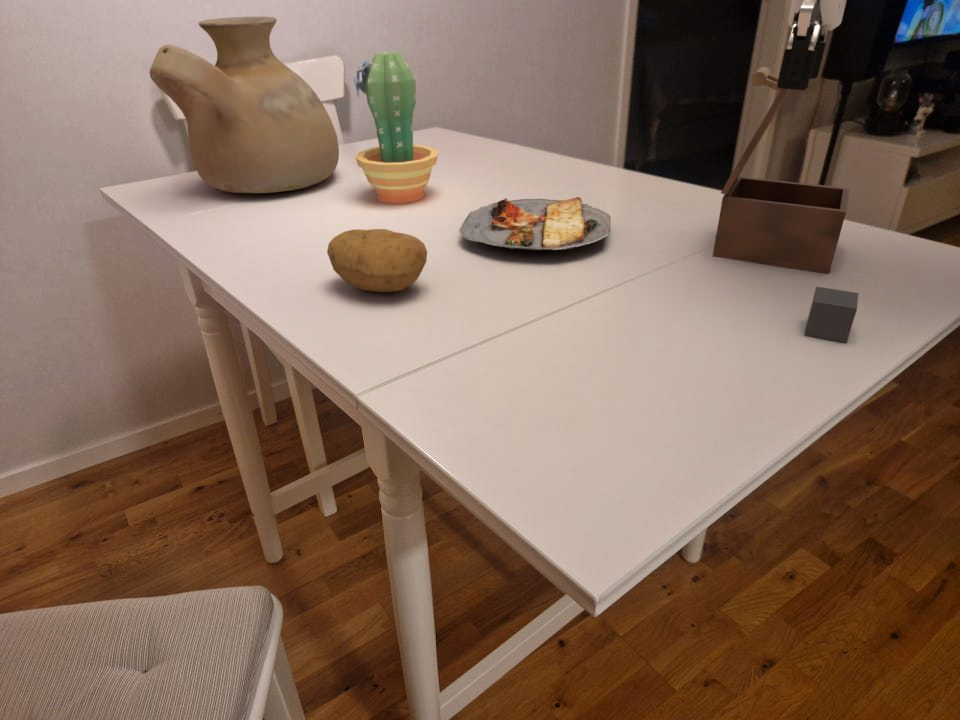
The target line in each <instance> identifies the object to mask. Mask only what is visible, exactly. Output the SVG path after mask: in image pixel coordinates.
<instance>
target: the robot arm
mask: <svg viewBox="0 0 960 720" xmlns="http://www.w3.org/2000/svg"><path fill="white" fill-rule="evenodd" d="M846 5H847V0H791V4H790V9H789V15H788V23H787V24H788V26H789V27H790V28H791V31H790V34H789V37H788V41H787V46H786V48H785V49H784V53H783V57H782V60H781V61H782V62H781V65H780V70H779V75H778V78H779V79H778V83H777V87H778V88H781V89H790V90H795V91H806V90H807V89H808V87H809V83H810V80H811V79H812V80H815V79H816V78H817V77H818V76H819V72H820V69H821V66H822V61H823V58H824V54H825V53H824V52H825V50H826V46H827V42H825V41H826V39H827V35H828V31H830V32H831V31H833V30H834V29H836V28H837V27H839V26H840V25H841V24H842V21H843V18H844V13H845V9H846Z"/></svg>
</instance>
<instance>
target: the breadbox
mask: <svg viewBox="0 0 960 720" xmlns="http://www.w3.org/2000/svg"><path fill="white" fill-rule="evenodd" d="M850 189H851V188H850V187H841V186H832V185H824V184H813V183H804V182H795V181H793V182H792V181H784V180H775V179H765V178H756V177H746V176H738V178H737V179H736V181H735V182H734V184H733V185H732V187H731V188H730V190H729V191H728V193H727V194H726V195H724V194H723V196H722V199H721V205H720V211H719V216H718V224H717V229H716V233H715V234H716V235H715V240H714V246H713V252H712V256H713V257H718V258H724V259H730V260H738V261H744V262H750V263H756V264H764V265H770V266H777V267H783V268H790V269H796V270H802V271H808V272H809V271H810V272H815V273H822V274H827V275H829V274H830V273H831V269H832V265H833V262H834V257H835V254H836V250H837V247H838V244H839V239H840V237H841V232H842V229H843V225H844V221H845V218H846V214H847V208H848V202H849V196H850Z"/></svg>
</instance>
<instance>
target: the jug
mask: <svg viewBox="0 0 960 720" xmlns="http://www.w3.org/2000/svg"><path fill="white" fill-rule="evenodd" d="M276 23H277V18H276V17H274V16H238V17H237V16H235V17H234V16H233V17H231V16H230V17H221V18H212V19H205V20H200V21H199V22H198V26H199V28H201V29H202V30H203V31H204V32H206V34H207V35H208V36H209V37H210V38H211V40H212V41H213V43H214V46H215V49H216V61H215V65H214V64H212V63H211V62H209V61H208V60H207V59H205V58H204V57H201V56H199V55H198V54H196V53H194V52H192V51H190V50H187V49H185V48H183V47H180V46H176V45H174V44H163V45H162V46H161V47H160V48H159V49H158V51H157V52H156V54H155V56H154V59H153V62H152V64H151V66H150V68H149V71H148V72H149V77H150V79H151V81H152V82H153V83H154V84H155V85H156V86H157V87H158V88H159V89H160V91H162V92H163V93H164V94H165V95H166V96H167V97H168V98H169V99H171V101H172V102H173V103H174V104H175V105H176V106H177V107H178V109H179V110H180V111H181V113H182V114H183V116H184V118H185V121H186V124H187V125H186V127H187V139H188V148H189V153H190V158H191V161H192V164H193V167H194V169H195V171H196V172H197V174H198V176H199V177H200V178H201V179H202V180H203V181H204V182H205V183H206V184H208V185H209V186H211V187H212V188H214V189H217V190H220V191H224V192H227V193H228V192H229V193H233V194H274V193H281V192H289V191H296V190H301V189H305V188H308V187H311V186H314V185H317V184H319V183H320V182H323V181H324V180H326V179H328V178H329V177H330V176H332V175H333V173H334V172H335V171H336V168H337V167H338V164H339V159H340V158H339V157H340V146H339V141H338V135H337V134H338V133H337V132H336V129H335V126H334V124H333V121H332V119H331V117H330V115H329V113H328V112H327V111H328V110H327V109H326V107H325V106H324V104H323V102H322V100H321V99H320V97H319V96H318V95H317V93H316V91H314V89H313V88H312V87H311V86H310V85H309V83H308V82H307V81H305V79H303V78H302V77H301V76H300V75H299V74H297V73H296V72H295V71H294V70H293V69H291V68H290V67H289V66H287V65H286V64H285V63H284V62H282V61H281V60H279V59H278V57H277V56H276V55H275V54H274V52H273V50H272V47H271V44H270V43H271V42H270V36H271V33H272V30H273V29H274V27H275V25H276Z"/></svg>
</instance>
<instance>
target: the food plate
mask: <svg viewBox="0 0 960 720" xmlns="http://www.w3.org/2000/svg"><path fill="white" fill-rule="evenodd" d="M611 218H612V216H611V215H610V214H609V213H607V212H606V211H604V210H602V209H600V208H598V207H597V208H596V207H593V206H591V205H589V204H586V203H583V200H582V198H581V197H579V196H576V197H573V198H569V199H565V200H562V199H561V200H560V199H548V198H521V199H514V200H508V198H507V197H506V198H503V199H500V200H499V201H497V202H493V203H490V204H488V205H485V206H481V207H479V208H478V209H475V210H472V211H470V212H469V213H468V214H467V216H466V218H465V219H464V221H463V222H462V224H461V226H460V228H459V230H458V232H459V234H460V235H461V236H462V237H464V239H466V240H468V241H469V242H470V241H473V242H475V243H478V242H480V243H482V244H485V245H491V246H494V247H495V246H496V247H499V248H501V247H502V248H508V249H511V250H525V251H526V250H527V251H529V250H530V251H534V252H535V251H545V250H549V251H559V250H562V251H565V250H567V251H568V250H569V251H571V250H572V249H575V248H578V247H582V246H586V245H589V244H592V243H595V242H599V241H600V240H603V239H604V238H606V237H608V236H610V235H611V234H610V232H611V220H612V219H611Z"/></svg>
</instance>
